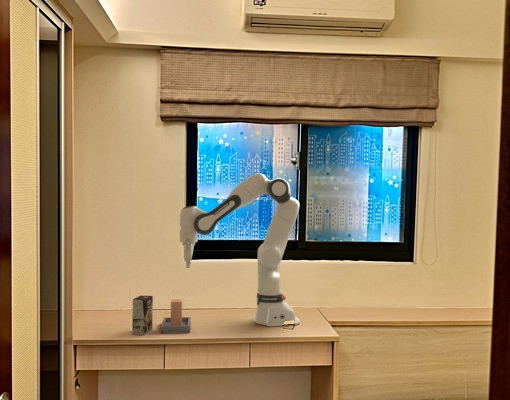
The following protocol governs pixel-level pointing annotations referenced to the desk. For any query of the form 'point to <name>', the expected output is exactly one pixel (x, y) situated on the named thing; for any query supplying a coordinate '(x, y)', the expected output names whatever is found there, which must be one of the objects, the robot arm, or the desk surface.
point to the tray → (168, 328)
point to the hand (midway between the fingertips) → (188, 266)
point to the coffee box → (142, 315)
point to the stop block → (176, 312)
